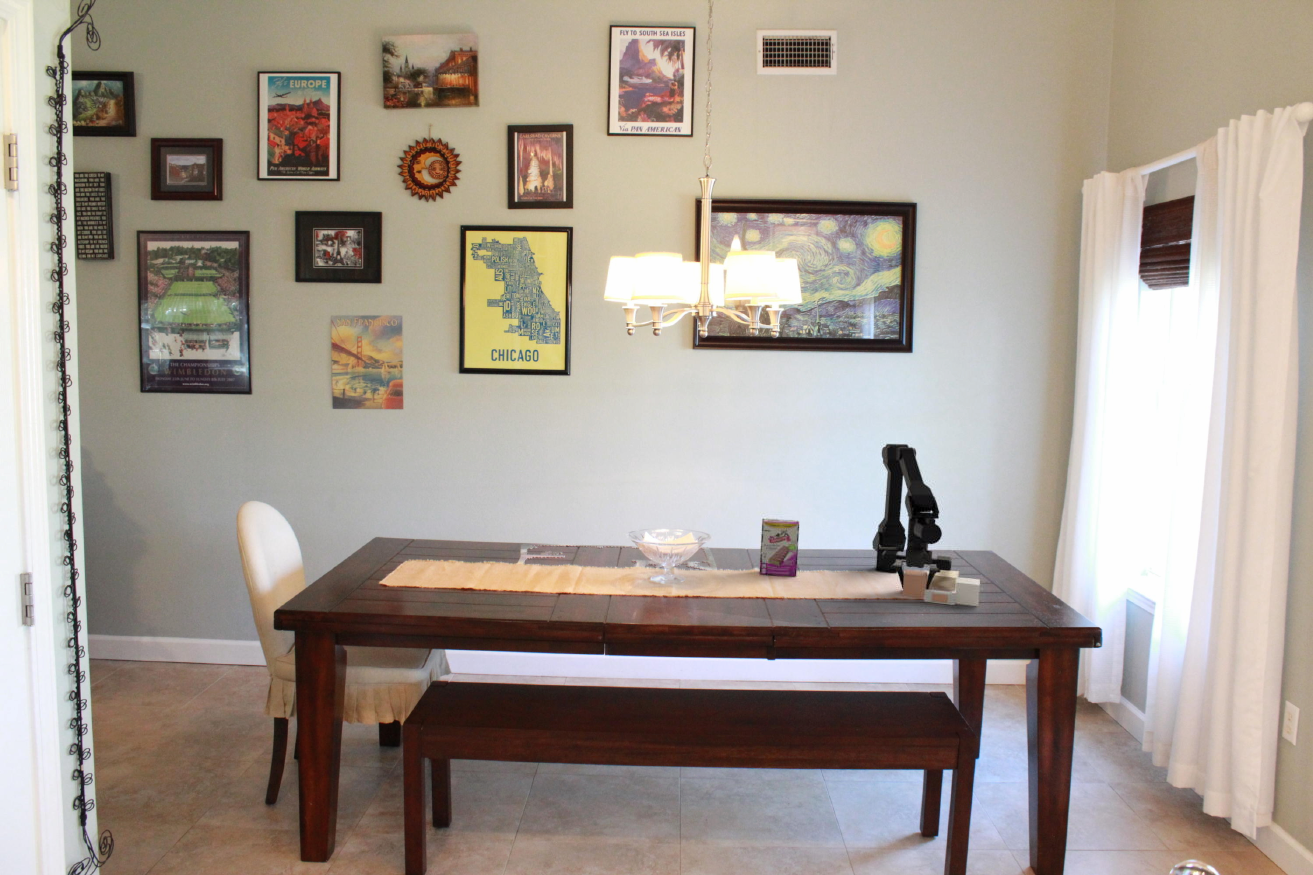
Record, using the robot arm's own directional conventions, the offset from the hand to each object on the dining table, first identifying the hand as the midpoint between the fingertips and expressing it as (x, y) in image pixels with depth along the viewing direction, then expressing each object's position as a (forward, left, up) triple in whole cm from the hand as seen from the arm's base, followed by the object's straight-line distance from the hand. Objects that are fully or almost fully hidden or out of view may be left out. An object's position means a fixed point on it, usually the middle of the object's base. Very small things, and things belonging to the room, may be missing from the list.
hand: (914, 590), depth 256 cm
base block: (+7, +13, -1) cm, 15 cm away
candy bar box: (-40, +4, -1) cm, 40 cm away
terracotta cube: (0, 0, -1) cm, 1 cm away
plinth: (+7, -6, -1) cm, 9 cm away
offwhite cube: (+14, -2, -1) cm, 14 cm away
